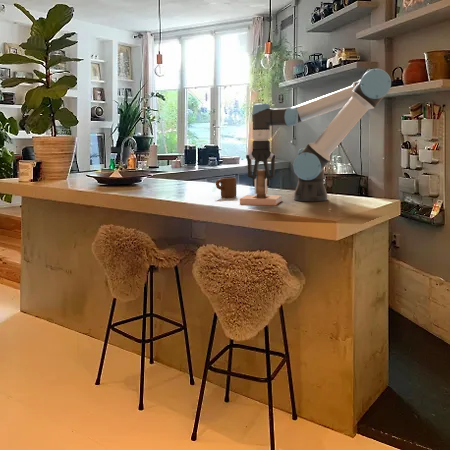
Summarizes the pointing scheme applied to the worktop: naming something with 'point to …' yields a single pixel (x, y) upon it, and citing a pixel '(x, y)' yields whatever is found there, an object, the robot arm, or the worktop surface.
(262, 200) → the socket plate
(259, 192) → the peg
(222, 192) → the mug
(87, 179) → the worktop surface
